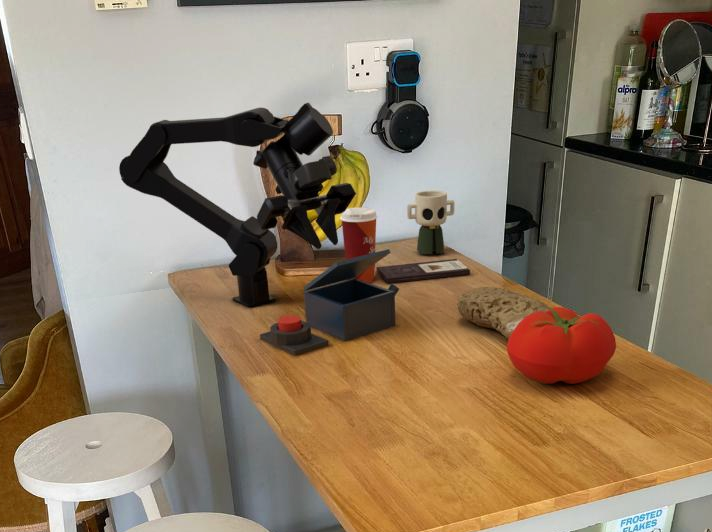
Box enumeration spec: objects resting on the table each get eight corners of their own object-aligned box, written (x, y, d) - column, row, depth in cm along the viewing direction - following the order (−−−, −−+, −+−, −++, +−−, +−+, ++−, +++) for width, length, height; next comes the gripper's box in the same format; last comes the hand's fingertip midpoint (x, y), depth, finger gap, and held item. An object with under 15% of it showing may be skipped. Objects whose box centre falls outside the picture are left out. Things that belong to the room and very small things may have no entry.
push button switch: (258, 340, 148) (256, 323, 146) (292, 330, 151) (291, 313, 150) (293, 357, 140) (291, 340, 138) (328, 345, 144) (327, 329, 142)
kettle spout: (401, 310, 154) (400, 283, 152) (380, 316, 152) (379, 289, 149) (394, 307, 155) (394, 281, 153) (374, 313, 153) (373, 287, 150)
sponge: (565, 349, 141) (517, 292, 155) (566, 310, 136) (516, 254, 149) (493, 372, 140) (451, 313, 154) (491, 333, 135) (447, 275, 148)
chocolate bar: (376, 267, 180) (456, 258, 182) (376, 271, 180) (456, 263, 183) (386, 278, 172) (469, 269, 175) (387, 283, 173) (469, 274, 175)
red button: (274, 329, 144) (273, 319, 144) (293, 323, 146) (292, 313, 146) (287, 334, 142) (286, 324, 141) (306, 329, 144) (305, 319, 143)
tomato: (487, 373, 131) (490, 312, 125) (567, 351, 137) (573, 292, 132) (548, 406, 120) (554, 340, 115) (632, 380, 126) (641, 316, 121)
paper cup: (375, 285, 172) (373, 215, 165) (339, 284, 173) (336, 215, 166) (382, 274, 178) (380, 206, 171) (347, 273, 180) (344, 206, 172)
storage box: (395, 325, 151) (394, 291, 148) (344, 341, 145) (342, 306, 142) (356, 310, 159) (354, 278, 156) (306, 325, 153) (303, 291, 150)
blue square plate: (390, 252, 145) (389, 248, 145) (337, 266, 139) (335, 262, 139) (355, 277, 155) (353, 274, 155) (304, 291, 150) (303, 287, 149)
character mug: (411, 259, 188) (411, 198, 181) (403, 251, 193) (403, 192, 187) (458, 254, 189) (459, 194, 182) (448, 247, 195) (450, 188, 188)
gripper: (258, 148, 139) (301, 227, 137) (347, 134, 148) (388, 208, 147) (239, 191, 148) (279, 266, 147) (324, 176, 158) (362, 245, 156)
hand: (328, 245), depth 149 cm, fingers open, 3 cm apart
